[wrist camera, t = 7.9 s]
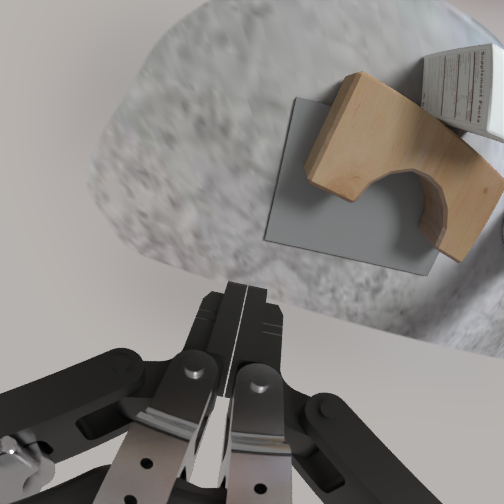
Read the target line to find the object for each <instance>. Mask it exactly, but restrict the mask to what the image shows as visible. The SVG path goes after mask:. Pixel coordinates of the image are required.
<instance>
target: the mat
mask: <svg viewBox="0 0 504 504" xmlns="http://www.w3.org/2000/svg"><path fill="white" fill-rule="evenodd" d="M330 109H331V106H330V105H326V104H322V103H319V102H315V101H311V100H307V99H302V98H298V97H296V102H295V106H294V111H293V115H292V120H291V125H290V129H289V134H288V138H287V143H286V147H285V152H284V157H283V161H282V166H281V170H280V175H279V179H278V183H277V188H276V192H275V197H274V201H273V206H272V210H271V215H270V219H269V223H268V228H267V232H266V236H265V240H268V241H272V242H277V243H282V244H287V245H291V246H296V247H300V248H305V249H310V250H314V251H319V252H323V253H328V254H332V255H337V256H341V257H346V258H350V259H355V260H359V261H364V262H368V263H373V264H377V265H381V266H386V267H390V268H394V269H399V270H403V271H407V272H412V273H416V274H420V275H424V276H428V274H429V272H430V270H431V268H432V266H433V264H434V262H435V260H436V258H437V256H438V254H439V251H438V250H436V249H435V248H434V246H433V245H432V244H431V243H430V242H429V240H428V239H427V238H426V237H425V236H424V234H423V233H422V232H421V231H420V230H419V227H418V225H419V222H420V220H421V217H422V214H423V212H424V190H423V187H422V184H421V182H420V179H419V176H418V175H417V174H416V173H415V172H412V171H408V172H401V173H394V174H389V175H387V176H385V177H383V178H381V179H379V180H377V181H376V182H374V183H372V184H370V185H369V187H368V188H367V189H366V190H365V191H364V193H363V194H362V195H361V196H360V197H359V199H358V200H357V201H356V202H353V203H349V202H347V201H345V200H343V199H341V198H339V197H337V196H335V195H333V194H331V193H329V192H327V191H324V190H322V189H320V188H318V187H316V186H314V185H311V184H309V182H308V179H307V176H306V172H305V169H304V164H305V162H306V160H307V158H308V156H309V154H310V151H311V149H312V147H313V145H314V143H315V141H316V139H317V137H318V134H319V132H320V130H321V128H322V126H323V124H324V122H325V119H326V117H327V115H328V113H329V111H330Z"/></svg>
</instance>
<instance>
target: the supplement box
mask: <svg viewBox="0 0 504 504" xmlns="http://www.w3.org/2000/svg"><path fill="white" fill-rule="evenodd" d="M421 108H423V109H424V110H425V111H427V112H428V113H430V114H431V115H432V116H434V117H435V118H436V119H438V120H439V121H440V122H442V123H443V124H445V125H448V126H451V127H454V128H458V129H461V130H464V131H467V132H471V133H474V134H478V135H481V136H484V137H487V138H490V139H493V140H496V141H499V142H502V143H504V50H503V49H501V48H499V47H498V46H496V45H494V44H492V43H491V44H485V45H477V46H471V47H464V48H458V49H453V50H448V51H443V52H438V53H434V54H430V55H426V56H424V71H423V87H422V99H421Z"/></svg>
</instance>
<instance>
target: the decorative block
mask: <svg viewBox="0 0 504 504" xmlns="http://www.w3.org/2000/svg"><path fill="white" fill-rule="evenodd" d="M304 169H305V172H306V176H307V179H308V182H309V184H311V185H314V186H316V187H318V188H320V189H322V190H324V191H327V192H329V193H331V194H333V195H335V196H337V197H339V198H341V199H343V200H345V201H347V202H349V203H353V202H356V201H357V200H358V199H359V197H360V196H361V195H362V194H363V193H364V191H365V190H366V189H367V188H368V187H369V185H370V184H372V183H374V182H376V181H377V180H379V179H381V178H383V177H385V176H387V175H389V174H394V173H401V172H408V171H412V172H415V173H416V174H417V175H418V176H419V179H420V182H421V184H422V187H423V190H424V212H423V214H422V217H421V220H420V222H419V225H418V227H419V230H420V231H421V232H422V233H423V234H424V236H425V237H426V238H427V239H428V240H429V242H430V243H431V244H432V245H433V246H434V248H435V249H436V250H438V251H439V252H441V253H443V254H444V255H446V256H448V257H449V258H451V259H453V260H454V261H456V262H457V263H460V262H462V261H463V259H464V258H465V256H466V255H467V253H468V252H469V250H470V249H471V247H472V246H473V244H474V242H475V241H476V239H477V238H478V236H479V234H480V233H481V231H482V230H483V228H484V226H485V225H486V223H487V221H488V219H489V218H490V216H491V214H492V212H493V210H494V209H495V207H496V205H497V203H498V201H499V199H500V197H501V195H502V193H503V191H504V178H503V177H502V176H501V175H500V174H499V173H498V172H497V171H496V170H495V169H494V168H493V167H492V166H491V165H490V164H489V163H488V162H487V161H486V160H485V159H484V158H483V157H482V156H480V155H479V154H478V153H477V152H476V151H475V150H474V149H473V148H472V147H471V146H469V145H468V144H467V143H466V142H465V141H464V140H463V139H461V138H460V137H459V136H458V135H457V134H455V133H454V132H453V131H452V130H450V129H449V128H448V127H447V126H445V125H444V124H443V123H442V122H440V121H439V120H438V119H436V118H435V117H434V116H432V115H431V114H430V113H428V112H427V111H425V110H424V109H423V108H421V107H420V106H418V105H417V104H415V103H414V102H412V101H411V100H409V99H408V98H406V97H405V96H403V95H402V94H400V93H399V92H397V91H396V90H394V89H392V88H391V87H389V86H387V85H386V84H384V83H382V82H381V81H379V80H377V79H376V78H374V77H372V76H370V75H368V74H367V73H365V72H363V71H361V72H357V73H354V74H352V75H349V76H346V77H345V78H344V80H343V83H342V85H341V87H340V89H339V91H338V93H337V96H336V98H335V100H334V102H333V104H332V106H331V109H330V111H329V113H328V115H327V117H326V119H325V122H324V124H323V126H322V128H321V130H320V132H319V134H318V137H317V139H316V141H315V143H314V145H313V147H312V149H311V151H310V154H309V156H308V158H307V160H306V162H305V164H304Z"/></svg>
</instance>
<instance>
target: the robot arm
mask: <svg viewBox="0 0 504 504" xmlns="http://www.w3.org/2000/svg"><path fill="white" fill-rule="evenodd" d="M502 235H503V241H504V223H503V231H502ZM246 288H247V285H244V284H239V283H235V282H230V281H228V284H227V287H226V290H225V293H224V294H223V293H218V292H213V291H212V292H210V293H209V294H208V295H207V296H206V297H205V298H203V300H202V303H201V305H200V308H199V310H198V313H197V315H196V318H195V320H194V323H193V326H192V328H191V331H190V333H189V336H188V338H187V341H186V343H185V346H184V348H183V350H182V351H181V352H180V353H178V354H177V355H176V356H175V357H174V358H172V359H170V360H166V361H143V360H142V358H141V357H140V356H139V354H137V353H136V352H134V351H133V350H130V349H127V348H116V349H112V350H110V351H107V352H105V353H103V354H100V355H98V356H96V357H93V358H91V359H88V360H86V361H83V362H81V363H78V364H76V365H74V366H71V367H69V368H66V369H64V370H61V371H59V372H56V373H54V374H51V375H48V376H46V377H44V378H41V379H38V380H36V381H33V382H30V383H28V384H25V385H23V386H20V387H17V388H15V389H12V390H9V391H7V392H4V393H1V394H0V504H292V465H293V467H294V468H295V469H296V470H297V472H298V473H299V474H300V475H301V477H302V478H303V479H304V480H305V481H306V483H307V484H308V485H309V486H310V487H311V489H312V490H313V491H314V492H315V494H316V495H317V496H318V497H319V498H320V499H321V501H322V502H323V503H324V504H442V503H441V502H440V501H439V500H438V499H437V498H436V497H435V496H434V495H433V494H432V493H431V492H430V491H429V490H428V489H427V488H426V487H425V486H424V485H423V484H422V483H421V482H420V481H419V480H418V479H417V478H416V477H415V476H414V475H413V474H412V473H411V472H410V471H409V470H408V469H407V468H406V467H405V466H404V465H403V464H402V463H401V461H400V460H399V459H398V458H397V457H396V456H395V455H394V454H393V453H392V452H391V451H390V450H389V449H388V448H387V447H386V446H385V445H384V444H383V443H382V442H381V441H380V439H379V438H377V436H376V435H375V434H374V433H373V432H372V431H371V430H370V429H369V428H368V427H367V426H366V425H365V423H364V422H363V421H362V420H361V419H360V418H359V417H358V416H357V415H356V414H355V413H354V412H353V410H352V409H351V408H350V407H349V406H348V405H347V404H346V403H345V402H344V401H343V400H342V399H341V398H339V397H338V396H336V395H334V394H331V393H318V394H316V395H313V396H312V397H310V396H307V395H305V394H302V393H300V392H298V391H296V390H294V389H293V388H291V387H290V386H289V385H287V383H285V381H284V379H283V378H282V376H281V372H280V362H281V346H282V326H283V314H282V312H281V310H280V308H279V306H278V305H275V304H269V303H266V297H267V289H263V288H259V287H254V286H248V291H247V296H246V300H245V305H244V310H243V315H242V319H241V324H240V329H239V333H238V338H237V342H236V347H235V351H234V356H233V361H232V366H231V370H230V374H229V379H228V384H227V388H226V393H225V397H227V398H230V402H229V408H228V412H227V416H226V424H225V431H224V441H223V449H222V450H223V451H222V458H221V466H220V472H219V478H218V486H217V488H200V487H198V486H196V485H193V484H191V483H189V480H190V477H191V474H192V471H193V467H194V463H195V459H196V456H197V453H198V450H199V447H200V444H201V442H202V439H203V436H204V433H205V430H206V427H207V424H208V421H209V418H210V415H211V412H212V411H213V409H214V405H215V401H216V397H217V396H222V397H223V393H224V388H225V384H226V379H227V375H228V371H229V366H230V362H231V357H232V352H233V348H234V344H235V339H236V334H237V330H238V325H239V321H240V316H241V312H242V307H243V302H244V297H245V293H246ZM127 431H128V432H127ZM125 432H127V434H126V436H125V439H124V440H123V442H122V445H121V446H120V448H119V450H118V452H117V454H116V457H115V458H114V460H113V462H112V464H110V465H104V466H100V467H97V468H94V469H92V470H90V471H88V472H86V473H83V474H81V475H79V476H77V477H75V478H73V479H70V480H68V481H66V482H64V483H61V484H59V485H57V486H55V487H52V488H50V489H47V490H45V491H42V492H40V490H41V488H42V487H43V486H44V485H46V484H48V483H49V482H50V481H51V480H52V479H53V477H54V474H55V465H54V464H55V463H58V462H60V461H63V460H65V459H68V458H70V457H73V456H75V455H78V454H80V453H82V452H84V451H87V450H89V449H91V448H93V447H96V446H98V445H100V444H102V443H104V442H107V441H109V440H110V439H113V438H115V437H117V436H119V435H121V434H123V433H125ZM39 492H40V493H39Z"/></svg>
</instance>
